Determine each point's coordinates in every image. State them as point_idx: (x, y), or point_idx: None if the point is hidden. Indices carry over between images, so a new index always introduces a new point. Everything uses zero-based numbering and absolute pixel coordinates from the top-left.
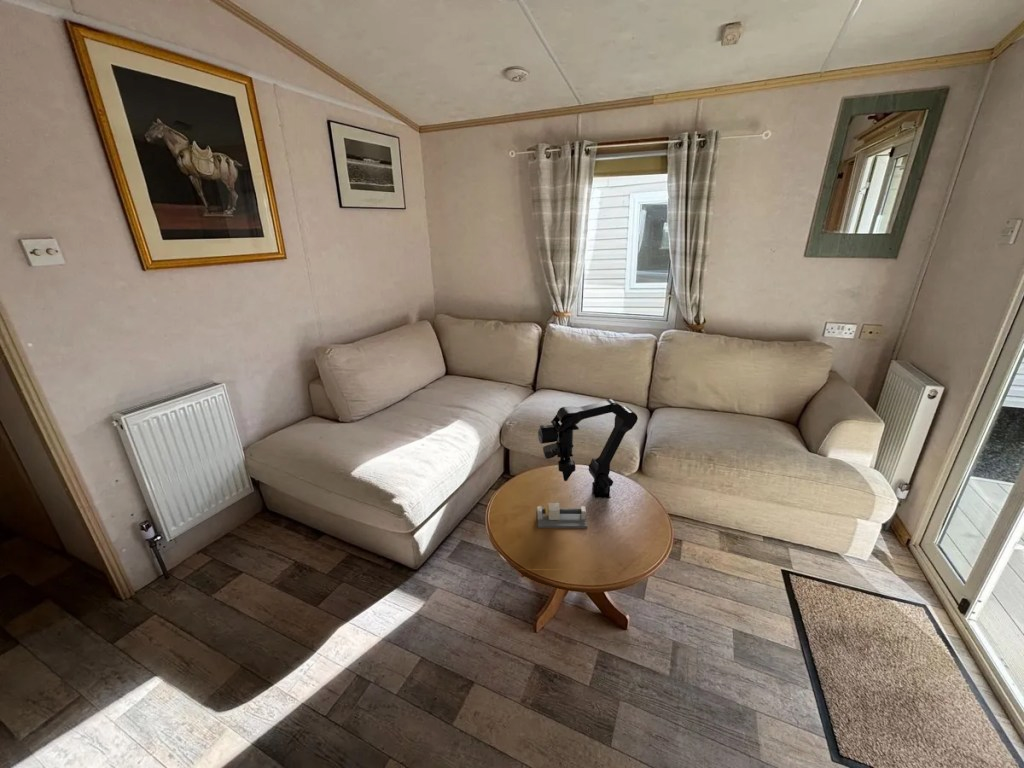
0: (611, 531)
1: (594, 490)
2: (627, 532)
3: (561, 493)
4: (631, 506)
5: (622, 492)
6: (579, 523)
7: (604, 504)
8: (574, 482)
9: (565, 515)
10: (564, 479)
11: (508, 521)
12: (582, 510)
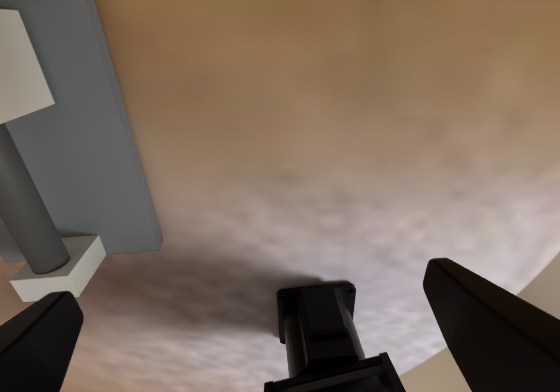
0: None
1: (303, 311)
2: (68, 374)
3: (320, 124)
4: (233, 387)
5: None
6: (6, 228)
7: (233, 318)
8: (424, 203)
9: (48, 151)
10: (14, 327)
11: None
12: (23, 284)
